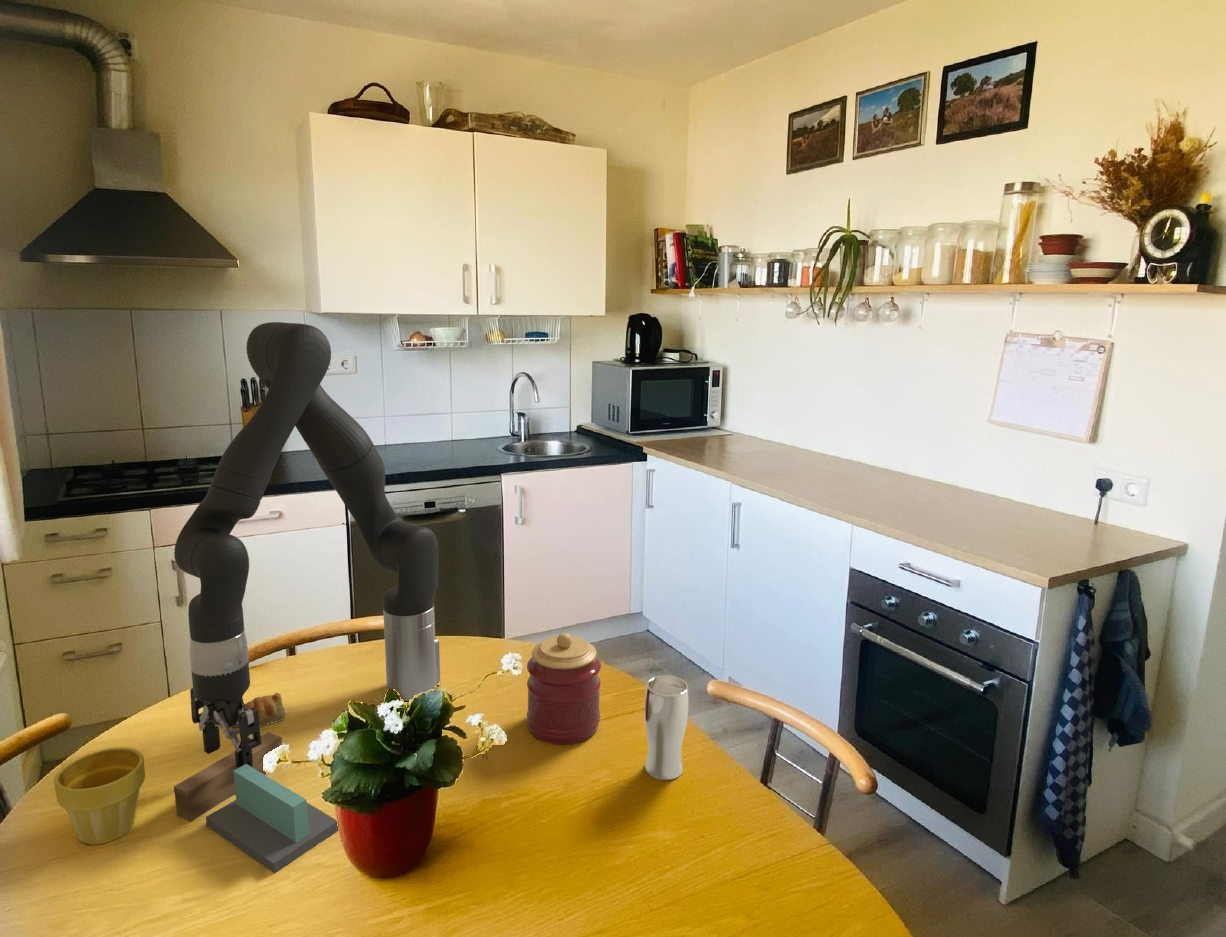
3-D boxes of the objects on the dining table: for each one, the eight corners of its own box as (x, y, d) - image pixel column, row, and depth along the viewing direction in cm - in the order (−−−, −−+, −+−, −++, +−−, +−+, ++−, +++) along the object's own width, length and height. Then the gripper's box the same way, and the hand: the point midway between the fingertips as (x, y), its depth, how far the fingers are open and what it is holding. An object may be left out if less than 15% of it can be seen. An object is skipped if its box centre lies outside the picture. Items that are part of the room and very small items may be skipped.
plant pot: (157, 798, 113) (150, 739, 111) (143, 844, 104) (135, 781, 102) (75, 813, 110) (66, 753, 107) (53, 862, 100) (42, 797, 98)
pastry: (229, 736, 130) (227, 716, 129) (225, 718, 135) (222, 698, 134) (288, 721, 135) (286, 701, 134) (281, 704, 140) (279, 685, 139)
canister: (598, 747, 129) (600, 652, 125) (522, 745, 129) (521, 649, 125) (601, 707, 141) (603, 619, 137) (531, 704, 142) (531, 617, 138)
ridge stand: (270, 789, 116) (267, 748, 114) (338, 830, 107) (335, 786, 106) (206, 825, 108) (201, 782, 106) (274, 873, 99) (270, 827, 98)
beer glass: (662, 788, 118) (666, 701, 115) (633, 766, 124) (636, 682, 120) (694, 771, 123) (698, 687, 119) (664, 751, 128) (668, 670, 125)
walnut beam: (271, 759, 124) (268, 731, 123) (283, 764, 122) (281, 736, 121) (177, 816, 110) (173, 786, 109) (190, 823, 108) (187, 792, 107)
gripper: (272, 665, 111) (279, 764, 114) (217, 640, 118) (225, 734, 121) (222, 685, 104) (231, 790, 108) (168, 657, 112) (177, 756, 115)
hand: (228, 760), depth 115 cm, fingers open, 8 cm apart
